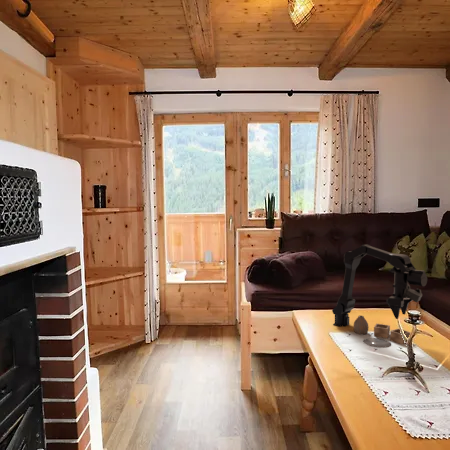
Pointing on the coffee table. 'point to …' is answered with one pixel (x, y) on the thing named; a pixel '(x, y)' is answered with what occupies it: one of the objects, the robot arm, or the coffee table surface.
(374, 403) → the coffee table surface
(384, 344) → the coaster
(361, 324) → the vase
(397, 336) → the box
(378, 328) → the box
